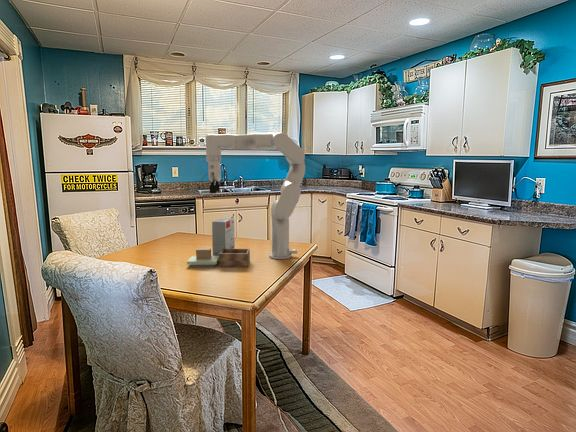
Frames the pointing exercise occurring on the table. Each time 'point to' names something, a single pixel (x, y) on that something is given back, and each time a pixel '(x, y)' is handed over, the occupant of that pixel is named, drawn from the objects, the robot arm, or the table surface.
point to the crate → (234, 257)
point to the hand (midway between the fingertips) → (214, 192)
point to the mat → (202, 265)
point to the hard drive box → (222, 235)
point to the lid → (203, 257)
